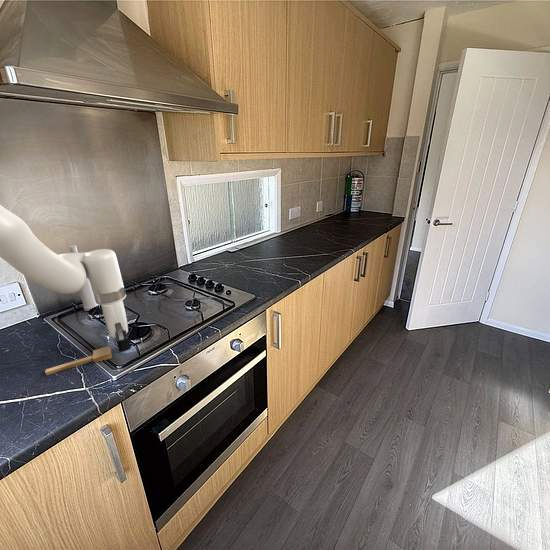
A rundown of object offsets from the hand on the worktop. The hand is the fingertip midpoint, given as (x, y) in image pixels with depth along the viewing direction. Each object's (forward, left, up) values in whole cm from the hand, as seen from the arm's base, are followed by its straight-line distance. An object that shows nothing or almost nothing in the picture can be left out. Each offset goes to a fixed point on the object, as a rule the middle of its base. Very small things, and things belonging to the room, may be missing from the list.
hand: (125, 348), depth 88 cm
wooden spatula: (-11, 0, 0) cm, 12 cm away
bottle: (-8, +35, -1) cm, 36 cm away
